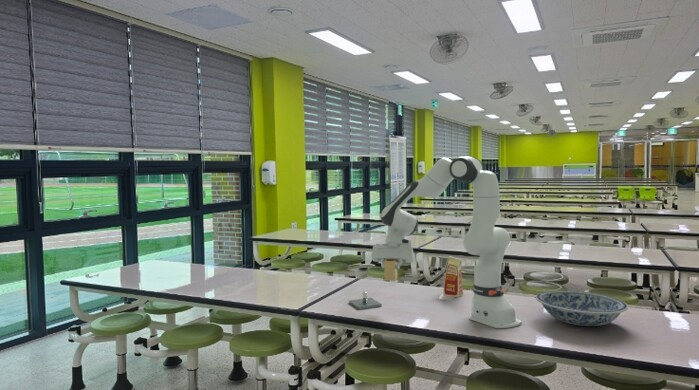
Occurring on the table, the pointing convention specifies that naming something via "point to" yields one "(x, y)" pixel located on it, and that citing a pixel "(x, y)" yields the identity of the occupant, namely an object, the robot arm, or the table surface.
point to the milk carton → (453, 278)
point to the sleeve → (390, 269)
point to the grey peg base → (365, 302)
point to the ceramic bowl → (581, 307)
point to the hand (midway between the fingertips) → (390, 268)
